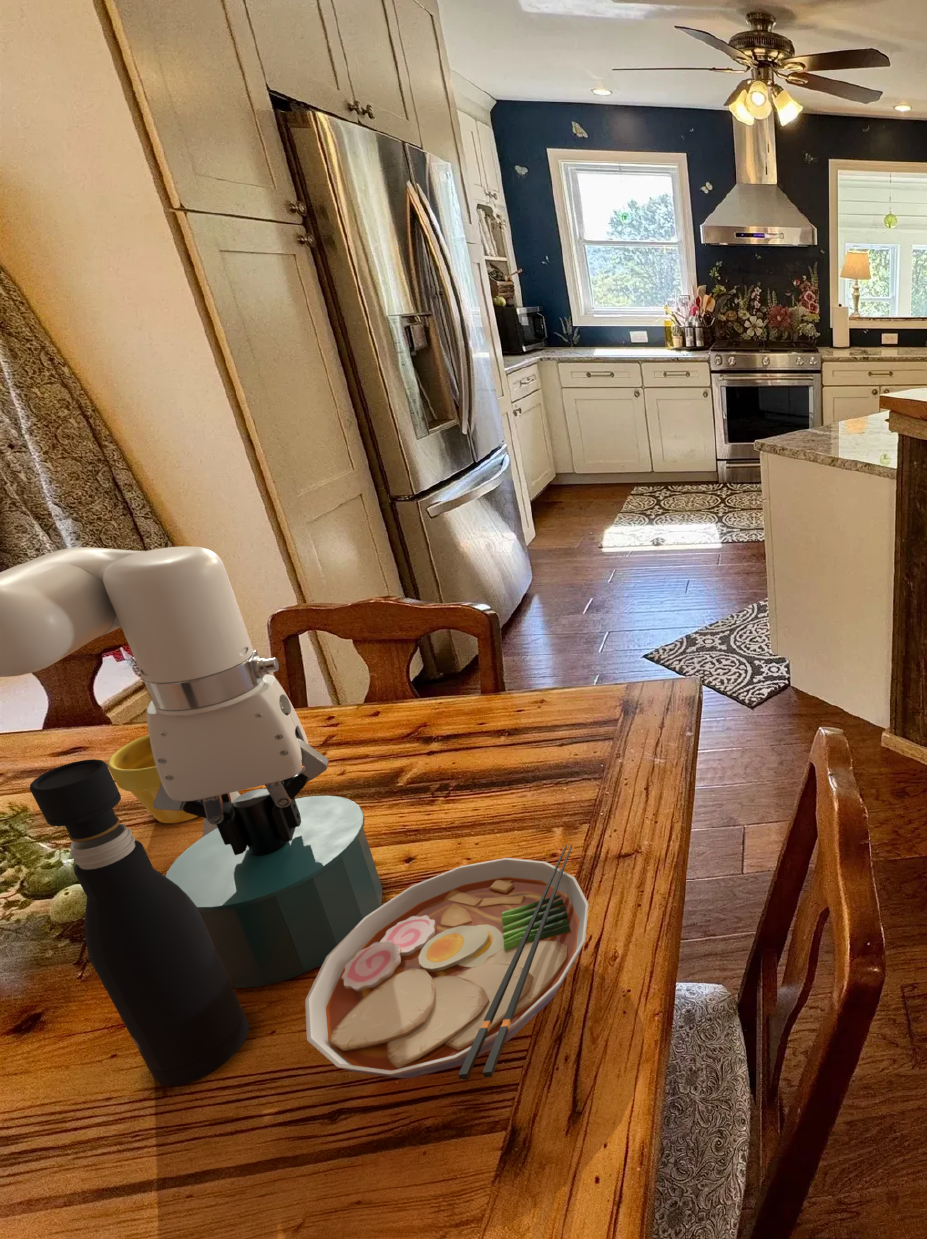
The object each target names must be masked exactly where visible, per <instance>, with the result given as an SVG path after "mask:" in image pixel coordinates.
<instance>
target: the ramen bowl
mask: <svg viewBox="0 0 927 1239" xmlns="http://www.w3.org/2000/svg"><path fill="white" fill-rule="evenodd" d="M567 847H568V844H566V845H565V846H564V848H563V850H562V852H561V855H560V856H559V859H558V861H557V862H556V865H553V864H551V863H549V862H547V861H543V860H533V859H522V858H514V857H504V858H498V859H492V860H488V861H481V862H475V863H471V864H463V865H459V866H457V867H455V868H452V869H450V870H447V871H445V872H442V873H440V874H438V875H435V876H433V877H430V878H427V879H425V880H423V881H420V882H417V883H415V884H412V885H411V886H409V887H407V888H406V889H405V890H403V891H402V892H400V893H399V894H397V895H396V896H394V897H393V898H391V899H390V900H388V901H387V902H385V903H383V904H381V907H379V908H378V909H376V910H375V911H373V912H372V913H370V914H369V915H367V916H366V917H364V918H363V919H362V920H361V921H360V922H359V924H358V925H357V926H356V927H355V928H354V929H353V930H352V931H351V932H350V933H349V934H348V935H347V936H346V937H345V938H344V939H343V940H342V941H341V942H340V943H339V944H338V945H337V946H336V947H335V948H334V949H333V950H332V951H331V952H330V953H329V954H328V955H327V956H326V958H325V960H324V962H323V964H322V965H320V966H321V967H320V968H319V971H318V973H317V975H316V977H315V978H314V981H313V983H312V985H311V987H310V989H309V991H308V994H307V995H306V998H305V1000H304V1005H305V1006H304V1007H305V1025H306V1027H305V1028H306V1041H307V1042H308V1043H309V1044H311V1045H312V1047H314V1048H315V1049H317V1051H318V1052H320V1053H321V1054H322V1056H324V1057H325V1058H326V1059H327V1060H329V1061H330V1062H331V1063H332V1064H333V1065H334V1066H336V1068H339V1069H342V1070H346V1071H348V1072H352V1073H360V1074H368V1075H373V1076H381V1077H389V1078H395V1079H413V1078H417V1077H420V1076H425V1075H429V1074H433V1073H436V1072H441V1071H445V1070H449V1069H452V1068H456V1067H460V1066H461V1067H460V1070H459V1072H458V1074H457V1076H458V1079H459V1081H463V1080H464V1081H465V1080H466V1081H467V1080H469V1078H470V1076H471V1074H472V1071H473V1069H474V1067H475V1064H476V1063H477V1059H478V1058H479V1057H481V1056H483V1055H484V1054H486V1053H488V1052H489V1055H488V1057H487V1060H486V1062H485V1065H484V1067H483V1069H482V1070H483V1071H482V1076H483V1079H489V1078H493V1077H494V1074H495V1071H496V1068H497V1065H498V1062H499V1059H500V1057H501V1053H502V1051H503V1047H504V1045H505V1043H506V1042H508V1041H510V1040H511V1039H513V1038H514V1037H515V1036H516V1035H517V1033H519V1032H520V1031H521V1030H522V1029H523V1028H524V1027H525V1026H526V1025H527V1024H528V1023H529V1022H530V1021H531V1020H533V1018H534V1017H535V1016H537V1015H538V1014H539V1013H540V1012H541V1011H542V1010H543V1009H544V1008H545V1007H546V1006H547V1005H548V1004H549V1003H550V1002H551V1001H552V1000H553V998H554V996H555V995H556V994H557V992H558V990H559V989H560V987H561V986H562V984H563V982H564V981H565V979H566V977H567V976H568V974H569V972H570V970H571V969H572V967H573V965H574V964H575V962H576V960H577V959H578V957H579V955H580V954H581V951H582V948H583V947H584V944H585V942H586V939H587V938H586V937H587V928H588V916H589V915H588V914H589V902H588V900H587V898H586V896H585V894H584V892H583V890H582V888H581V887H580V885H579V884H580V883H578V881H577V878H576V877H575V876H574V875H571V874H570V873H568V872H566V871H565V868H566V865H567V862H568V860H569V857H570V854H571V851H572V849H573V848H572V847H573V844H570V846H569V848H568V851H567V853H566V857H565V859H564V861H563V864H562V867H561V869H560V868H559V867H560V864H561V862H562V859H563V857H564V855H565V852H566V850H567Z"/></svg>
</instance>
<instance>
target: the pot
mask: <svg viewBox="0 0 927 1239" xmlns="http://www.w3.org/2000/svg"><path fill="white" fill-rule="evenodd" d="M382 902H383V886H382V883H381V879H380V877H379V873H378V870H377V866H376V863H375V860H374V858H373V854H372V851H371V847H370V845H369V841H368V838H367V835H366V831H365V829H364V827H363V830H362V833H361V834H360V836H359V838H358V840H357V841H356V842H355V844H354V845H353V846H352V847H351V848H350V849H349V850H348V852H347V853H345V854H344V855H343V856H342V857H341V858H340V859H339V860H338V861H336V862H335V863H334V864H332V865H331V866H330V867H328V868H327V869H325V870H324V871H323V872H321V873H320V874H318V875H316V876H315V877H313V878H311V879H310V880H308V881H306V882H304V883H302V884H300V885H298V886H296V887H294V888H292V889H290V890H288V891H286V892H283V893H281V894H279V895H276V896H273V897H271V898H268V899H265V900H262V901H259V902H256V903H253V904H249V905H245V906H241V907H237V908H232V909H226V910H219V911H199V913H200V915H201V917H202V920H203V922H204V924H205V926H206V929H207V931H208V933H209V935H210V938H211V940H212V942H213V944H214V947H215V949H216V951H217V953H218V956H219V958H220V960H221V962H222V965H223V967H224V969H225V971H226V974H227V976H228V978H229V980H230V983H231V985H232V987H233V988H237V989H253V988H262V987H265V986H270V985H275V984H278V983H279V984H280V983H282V982H285V981H288V980H291V979H293V978H296V977H299V976H301V975H304V974H306V973H308V972H310V971H312V970H314V969H316V968H318V967H320V966H322V964H323V962H324V960H325V958H326V956H327V955H328V954H329V953H330V952H331V951H332V950H333V949H334V948H335V947H336V946H337V945H338V944H339V943H340V942H341V941H342V940H343V939H344V938H345V937H346V936H347V935H348V934H349V933H350V932H351V931H352V930H353V929H354V928H355V927H356V926H357V925H358V924H359V922H360V921H361V920H362V919H363V918H364V917H366V916H367V915H369V914H370V913H372V912H373V911H375V910H376V909H378V908H379V907H381V906H382Z"/></svg>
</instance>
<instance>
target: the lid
mask: <svg viewBox="0 0 927 1239" xmlns="http://www.w3.org/2000/svg"><path fill="white" fill-rule="evenodd" d="M294 799H295V801H296V804H297V807H298V810H299V813H300V816H301V824H300V826H299V827H296V828H295V831H294V834H293V838H292V840H291V841H288V842H284V841H281V838H280V835H279V833H278V830H277V827H276V825H275V822H274V819H273V817H272V809H273V806H274V804H273V802H274V801H273V799H272V797H271V796H270V794H269V792H268V790H267V788H256V789H252V790H249V791H247V792H244V793H242V794H240V796H239V797H237V798H236V799H235V800H234V801H233V803H232V807H233V810H234V812H235V815H236V817H237V820H238V822H239V825H240V827H241V830H242V832H243V835H244V837H245V840H246V843H247V848H246V850H245V851H244V852H243V853H242V854H238V855H235V854H234V852H233V849H232V847H231V844H228V845H225V844H224V842H223V839H222V837H221V834H220V832H219V830H218V828H216V829H215V830H213V831H211V832H210V833H208V834H207V835H205V836H203V837H202V836H201V837H200V838H199V839H197V840H196V841H194V843H191V845H190V846H189V847H188V848H186V849H185V850H184V851H183V852H182V853H181V854H180V855H178V857H177V858H176V859H175V860H174V861H173V863H171V865H170V867H169V868H168V870H167V871H166V873H165V875H164V876H165V877H167V878H168V879H170V880H171V881H172V882H174V883H175V884H176V885H178V886H179V887H180V888H181V889H182V890H183V891H184V892H185V893H186V894H187V895H188V896H189V898H190V899H191V900H192V901H193V902H194V904H195V905H196V906H197V909H198V911H219V910H226V909H232V908H237V907H241V906H245V905H249V904H253V903H256V902H259V901H262V900H265V899H268V898H271V897H273V896H276V895H279V894H281V893H283V892H286V891H288V890H290V889H292V888H294V887H296V886H298V885H300V884H302V883H304V882H306V881H308V880H310V879H311V878H313V877H315V876H316V875H318V874H320V873H321V872H323V871H324V870H325V869H327V868H328V867H330V866H331V865H332V864H334V863H335V862H336V861H338V860H339V859H340V858H341V857H342V856H343V855H344V854H345V853H347V852H348V850H349V849H350V848H351V847H352V846H353V845H354V844H355V842H356V841H357V840H358V838H359V836H360V834H361V833H362V830H363V828H364V827H365V820H366V818H365V814H364V811H363V809H362V807H361V806H360V805H359V804H358V803H357V802H355V801H353V800H351V799H349V798H346V797H343V796H338V795H312V796H310V795H309V796H303V797H296V798H294Z"/></svg>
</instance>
